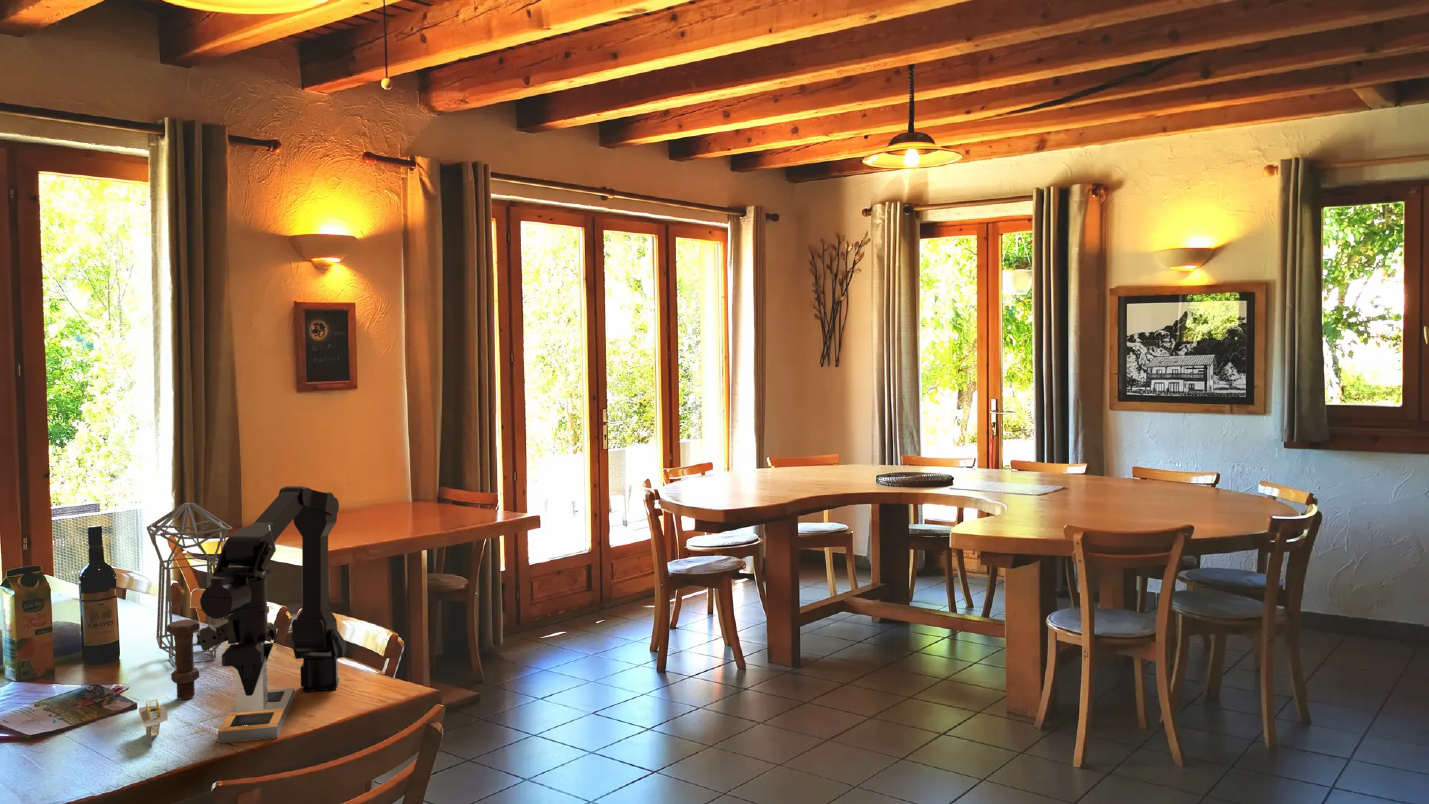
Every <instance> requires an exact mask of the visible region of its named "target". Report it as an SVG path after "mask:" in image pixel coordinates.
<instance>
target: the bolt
mask: <svg viewBox="0 0 1429 804" xmlns="http://www.w3.org/2000/svg"><path fill="white" fill-rule="evenodd" d="M200 625H201V624H200V622H199V621H198V620H197V619H179V620H175V621H172V622H171V623H170V622H169V623H168V625H167V633H168V634H170V633H171V634H173V635H174V636H173V641H174V646H175V649H176V650H175V651H174V653H175V654H176V655H175V656H176V658H175V656H174V660H175V659H176V666H175V670H173V671H172V672H171V674H170V677H171V678H170V679H171V681H172V682H173V683H174V684H176V698H177V699H179V700H190V699H192V698H194V696H195V695H196V693H195V691H196V690H195V689H196V687H195V686H196V685H195V681H197V680H198V679H199V677H200V671H199V669H198V668H197V667H195V664H194V662H195V658H194V655H195V654H193V653H194V652H195V651H194V646H193V643H194V633H193V632H194V631H196V630H201V626H200Z"/></svg>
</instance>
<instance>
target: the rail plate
mask: <svg viewBox="0 0 1429 804" xmlns="http://www.w3.org/2000/svg"><path fill="white" fill-rule="evenodd" d="M295 697H296V695H295V687H291V688H290V687H289V688H281V689H280V688H279V689H278V688H277V689H267V701H268V702H269V703H267V705H266V707H265V709H264V711H255V712H243V713H236V702H235V703H234V705H233V707H232V709H230V712H228V713H227V715H226V717H225V718H224V720H223V722H222V723H221V725H220V727H219V728H218V730H217V743H218V744H226V743H237V742H238V741H240V742H246V741H245V740H251V741H259V740H269V739H268V738H272V739H274V738H273V737H277V736H278V737H279V735H280V733H279V732H281V730H282V728H283V726H284V723H285V722H286V721H285V720H286V719H285V718H287V717H286V716H288V714H289V712H290V710H289V709H291V708H290V707H292V705H293V703H294V701H295ZM293 700H294V701H293ZM292 702H293V703H292ZM288 711H289V712H288ZM242 725H243V726H242ZM244 725H248V726H244ZM282 725H283V726H282ZM236 726H237V727H236ZM278 734H279V735H278ZM278 737H277V738H278ZM236 741H237V742H236Z"/></svg>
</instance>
